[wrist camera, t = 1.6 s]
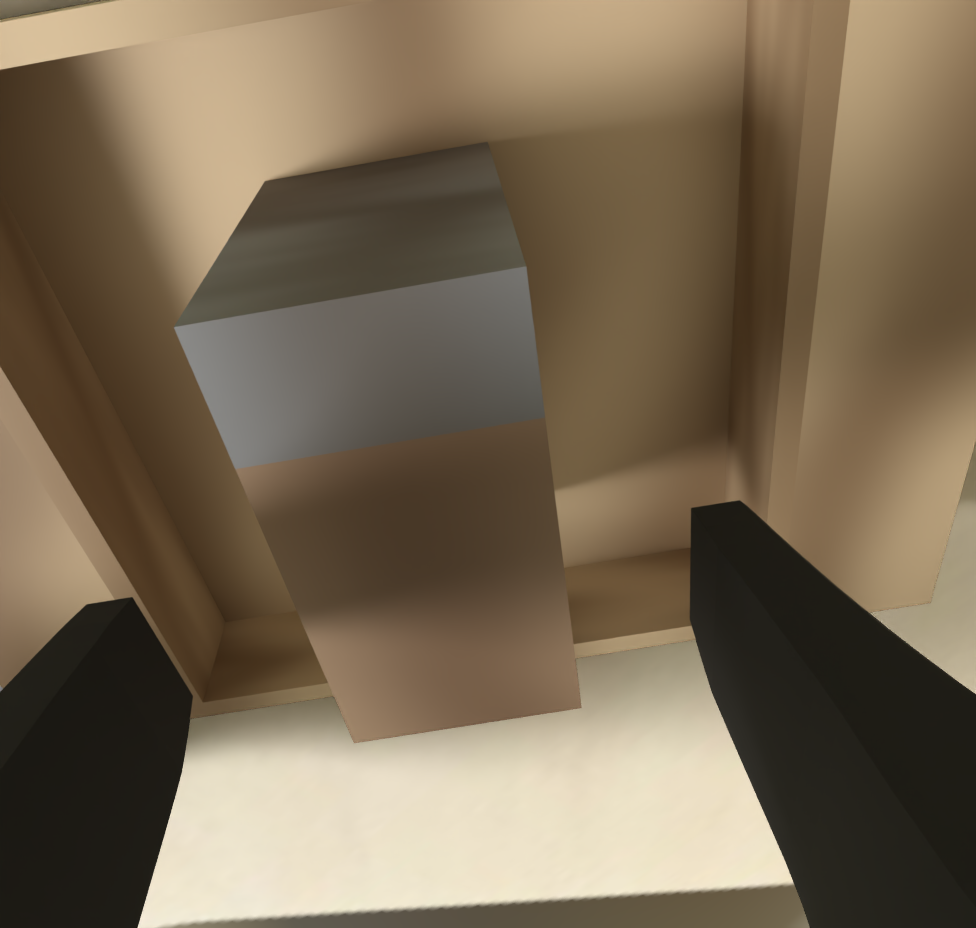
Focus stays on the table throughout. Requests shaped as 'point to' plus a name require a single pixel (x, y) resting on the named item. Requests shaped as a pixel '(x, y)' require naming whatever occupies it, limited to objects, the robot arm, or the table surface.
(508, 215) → the brown rectangular block
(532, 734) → the table surface
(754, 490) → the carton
